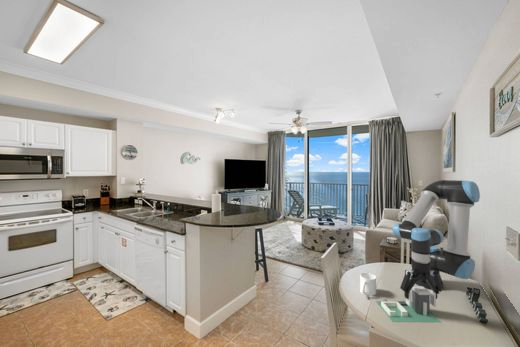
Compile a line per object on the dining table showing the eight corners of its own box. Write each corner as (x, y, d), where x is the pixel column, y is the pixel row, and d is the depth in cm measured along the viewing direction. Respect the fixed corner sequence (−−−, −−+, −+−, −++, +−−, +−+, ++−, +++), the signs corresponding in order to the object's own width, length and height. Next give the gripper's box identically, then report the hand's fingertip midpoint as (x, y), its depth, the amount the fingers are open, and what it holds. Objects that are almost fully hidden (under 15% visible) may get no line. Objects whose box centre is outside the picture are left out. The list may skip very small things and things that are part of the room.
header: (397, 305, 113) (397, 301, 113) (407, 316, 105) (407, 311, 105) (381, 305, 113) (381, 301, 113) (390, 316, 105) (390, 311, 105)
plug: (422, 307, 111) (422, 286, 111) (430, 315, 105) (430, 292, 105) (411, 307, 111) (411, 286, 111) (419, 315, 105) (419, 292, 105)
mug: (370, 302, 118) (370, 283, 118) (355, 296, 124) (355, 278, 124) (378, 293, 126) (378, 275, 126) (363, 288, 132) (363, 271, 132)
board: (417, 303, 116) (417, 298, 116) (441, 324, 100) (441, 318, 100) (375, 303, 117) (375, 297, 117) (392, 324, 101) (392, 318, 101)
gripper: (439, 257, 112) (439, 300, 112) (392, 257, 112) (392, 300, 113) (451, 263, 104) (451, 309, 104) (401, 263, 105) (401, 309, 105)
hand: (420, 304), depth 109 cm, fingers open, 11 cm apart
